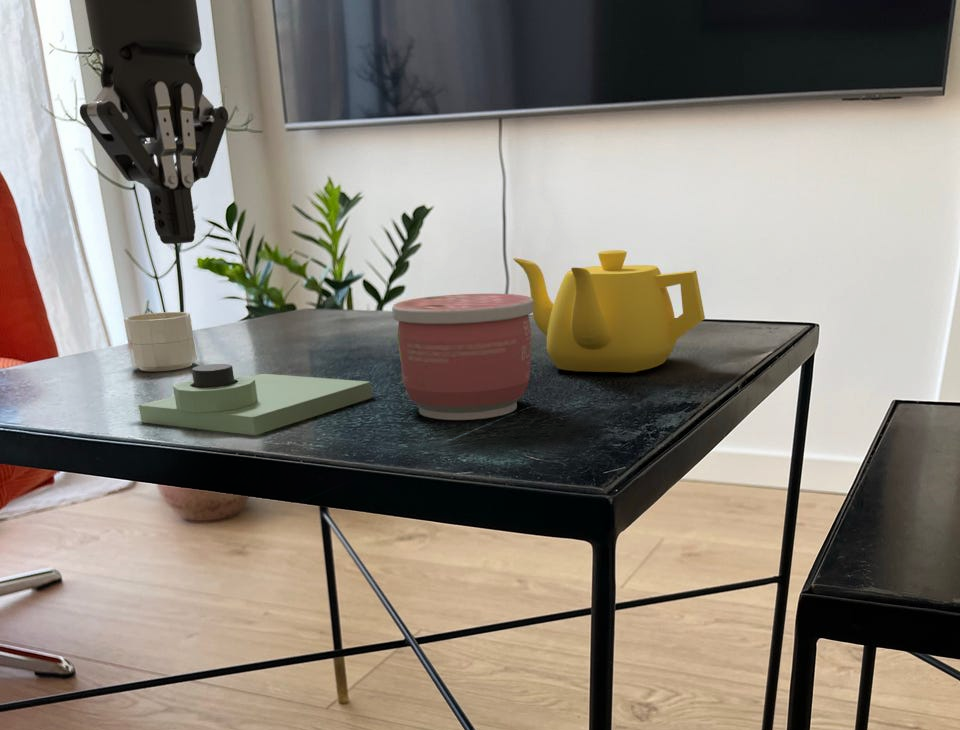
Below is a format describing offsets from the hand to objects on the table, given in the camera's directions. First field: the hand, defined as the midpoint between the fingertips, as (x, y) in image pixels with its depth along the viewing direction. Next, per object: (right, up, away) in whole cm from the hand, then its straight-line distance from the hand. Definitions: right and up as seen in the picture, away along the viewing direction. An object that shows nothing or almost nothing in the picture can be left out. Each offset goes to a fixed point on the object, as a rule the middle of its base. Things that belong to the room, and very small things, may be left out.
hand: (177, 242), depth 78 cm
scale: (+5, -12, +4) cm, 14 cm away
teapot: (+34, -6, +15) cm, 38 cm away
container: (+22, -13, +1) cm, 26 cm away
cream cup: (-9, -2, +26) cm, 28 cm away
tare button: (+3, -11, -1) cm, 12 cm away
